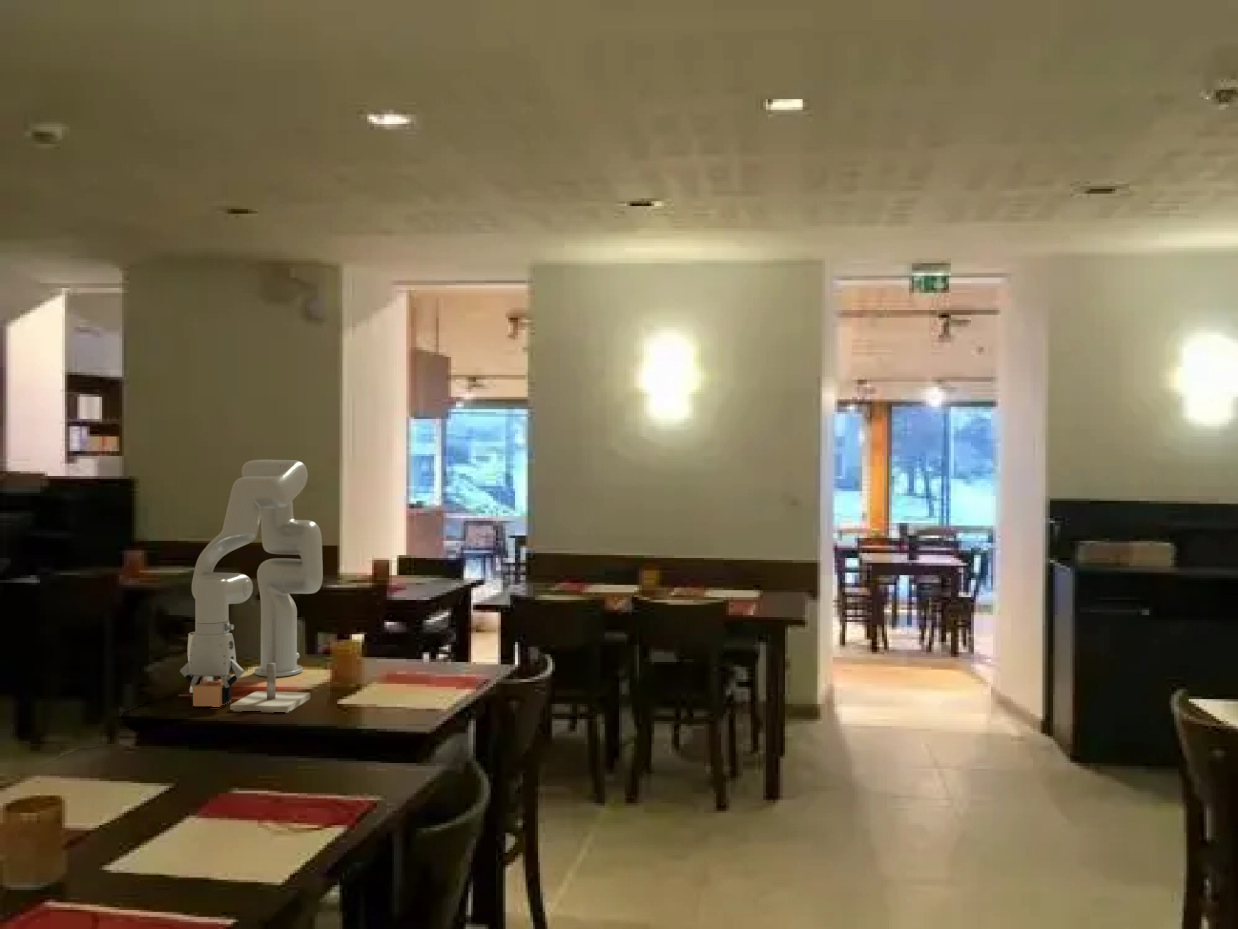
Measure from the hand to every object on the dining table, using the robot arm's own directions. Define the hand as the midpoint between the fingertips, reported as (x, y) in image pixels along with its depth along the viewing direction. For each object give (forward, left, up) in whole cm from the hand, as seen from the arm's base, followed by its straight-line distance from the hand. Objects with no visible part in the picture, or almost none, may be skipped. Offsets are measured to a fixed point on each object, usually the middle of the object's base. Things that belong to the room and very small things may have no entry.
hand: (212, 701), depth 255 cm
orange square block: (0, 0, -1) cm, 1 cm away
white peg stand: (-2, +14, -1) cm, 14 cm away
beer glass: (-13, -9, -1) cm, 16 cm away
